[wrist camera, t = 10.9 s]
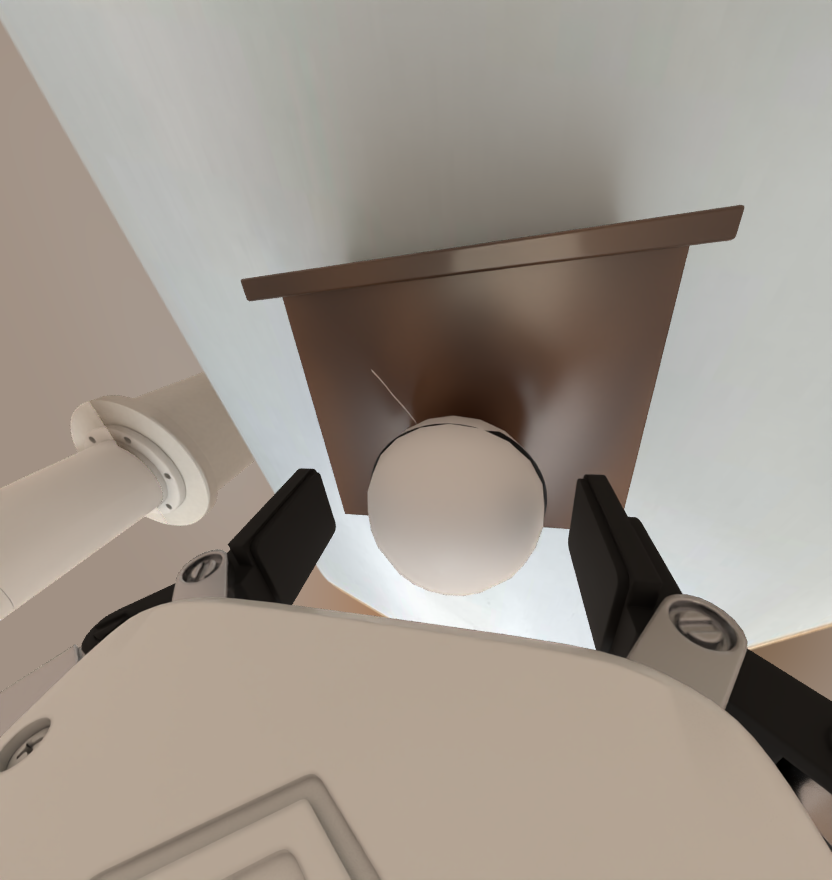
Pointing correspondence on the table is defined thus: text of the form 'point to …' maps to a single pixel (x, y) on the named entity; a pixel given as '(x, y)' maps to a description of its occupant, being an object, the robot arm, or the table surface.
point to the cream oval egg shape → (456, 505)
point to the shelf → (497, 345)
